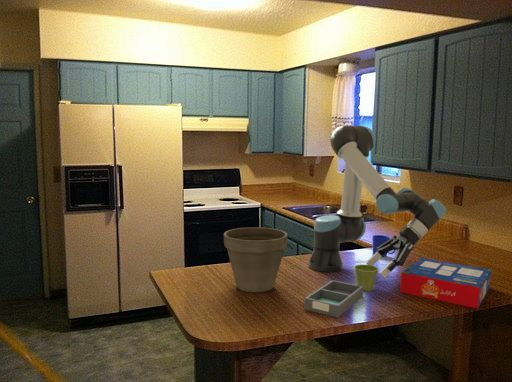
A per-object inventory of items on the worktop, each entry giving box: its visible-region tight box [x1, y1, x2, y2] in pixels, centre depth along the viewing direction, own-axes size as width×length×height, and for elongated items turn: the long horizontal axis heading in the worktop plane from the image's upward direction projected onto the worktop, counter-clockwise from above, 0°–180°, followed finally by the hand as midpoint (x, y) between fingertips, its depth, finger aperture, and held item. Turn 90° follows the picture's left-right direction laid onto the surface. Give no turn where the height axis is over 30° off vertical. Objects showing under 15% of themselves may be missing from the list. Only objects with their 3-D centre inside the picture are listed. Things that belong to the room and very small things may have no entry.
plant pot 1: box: [223, 227, 288, 293], centre depth 183 cm, size 25×25×22 cm
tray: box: [303, 280, 364, 318], centre depth 168 cm, size 13×25×4 cm, turn 148°
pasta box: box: [399, 257, 492, 309], centre depth 185 cm, size 28×8×28 cm
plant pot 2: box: [353, 264, 380, 292], centre depth 184 cm, size 9×9×9 cm
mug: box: [372, 234, 396, 258], centre depth 234 cm, size 8×12×10 cm
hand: (374, 270), depth 183 cm, fingers open, 13 cm apart
